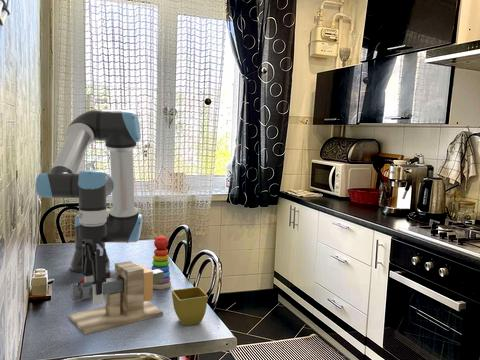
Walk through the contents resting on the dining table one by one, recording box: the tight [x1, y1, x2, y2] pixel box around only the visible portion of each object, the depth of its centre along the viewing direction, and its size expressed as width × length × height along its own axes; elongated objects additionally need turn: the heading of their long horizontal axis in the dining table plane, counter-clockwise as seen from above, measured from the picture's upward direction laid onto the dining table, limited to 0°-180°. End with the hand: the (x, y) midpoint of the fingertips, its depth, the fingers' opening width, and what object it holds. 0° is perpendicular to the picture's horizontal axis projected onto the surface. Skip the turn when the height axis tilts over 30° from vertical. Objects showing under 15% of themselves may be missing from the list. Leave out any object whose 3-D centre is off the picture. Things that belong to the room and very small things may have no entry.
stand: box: [69, 260, 164, 336], centre depth 135 cm, size 14×24×15 cm, turn 128°
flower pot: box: [171, 286, 209, 327], centre depth 133 cm, size 9×9×9 cm
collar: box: [137, 263, 154, 302], centre depth 140 cm, size 9×3×9 cm, turn 38°
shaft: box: [69, 269, 164, 303], centre depth 136 cm, size 5×28×5 cm, turn 128°
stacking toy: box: [150, 235, 172, 290], centre depth 162 cm, size 8×8×19 cm
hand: (93, 300), depth 131 cm, fingers open, 6 cm apart
